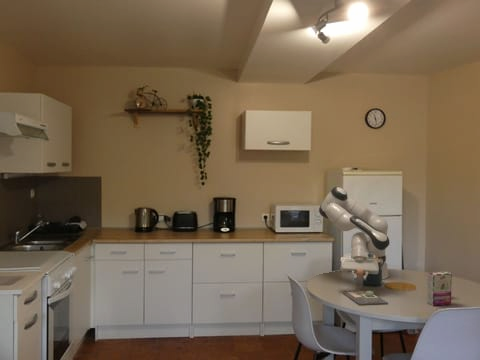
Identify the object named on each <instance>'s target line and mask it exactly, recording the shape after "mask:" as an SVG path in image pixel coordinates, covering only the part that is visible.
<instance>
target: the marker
mask: <svg viewBox="0 0 480 360" xmlns="http://www.w3.org/2000/svg"><path fill="white" fill-rule="evenodd" d="M356 275H357V279H356V282H355V283H356V285H355V287H356V288H355V291H364V285H363V270H361V269H357V273H356Z"/></svg>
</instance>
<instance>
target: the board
mask: <svg viewBox="0 0 480 360" xmlns="http://www.w3.org/2000/svg"><path fill="white" fill-rule="evenodd" d="M366 291H369V290H367V289H366V290H363V291H357V290H345V291H344V290H343V291H341V292H340V293H341V294H343V295H344V296H345V297H346V298H347V299H350V300H351V301H352V302H354V303H355V304H356V305H357V306H360V307H361V306H373V305H374V306H378V305H389V302H388V301H386V300H385V299H384V298H382V297H380V296H378V295H377V294H375V293H373V297H367V296H366Z"/></svg>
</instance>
